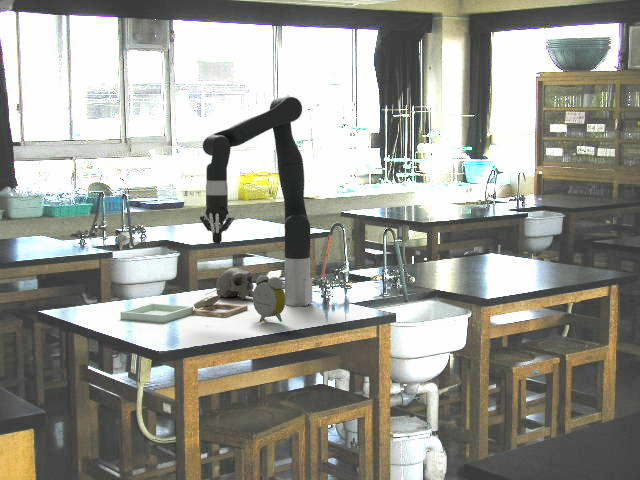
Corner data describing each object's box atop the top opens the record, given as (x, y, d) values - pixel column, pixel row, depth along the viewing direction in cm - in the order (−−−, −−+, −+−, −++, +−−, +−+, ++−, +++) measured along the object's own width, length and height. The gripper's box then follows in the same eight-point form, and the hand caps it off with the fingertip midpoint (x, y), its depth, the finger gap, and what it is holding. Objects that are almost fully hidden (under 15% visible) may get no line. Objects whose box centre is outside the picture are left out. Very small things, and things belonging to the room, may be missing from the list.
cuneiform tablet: (206, 293, 361) (189, 299, 370) (211, 305, 361) (194, 311, 370) (222, 287, 365) (205, 292, 374) (227, 299, 365) (209, 304, 374)
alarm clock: (286, 321, 345) (286, 277, 344) (271, 324, 341) (271, 279, 339) (263, 317, 354) (263, 273, 352) (248, 319, 349) (247, 275, 347)
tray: (193, 313, 360) (193, 306, 360) (163, 323, 343) (163, 315, 343) (151, 310, 367) (151, 303, 367) (120, 319, 350) (120, 311, 350)
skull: (241, 303, 383) (240, 271, 382) (209, 297, 396) (209, 267, 394) (264, 299, 391) (263, 268, 390) (232, 294, 404) (232, 264, 403)
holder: (247, 309, 368) (247, 305, 368) (225, 317, 354) (225, 312, 353) (215, 307, 373) (215, 303, 373) (192, 314, 359) (192, 310, 359)
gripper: (238, 193, 359) (239, 243, 361) (205, 192, 365) (206, 241, 367) (228, 194, 353) (228, 245, 354) (194, 193, 358) (194, 243, 360)
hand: (217, 243), depth 361 cm, fingers closed
